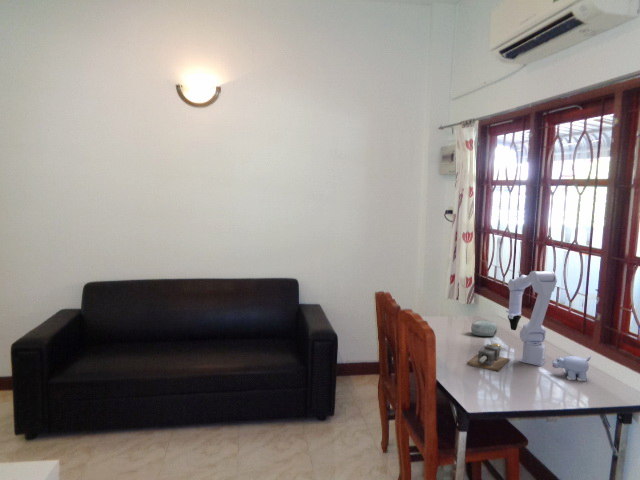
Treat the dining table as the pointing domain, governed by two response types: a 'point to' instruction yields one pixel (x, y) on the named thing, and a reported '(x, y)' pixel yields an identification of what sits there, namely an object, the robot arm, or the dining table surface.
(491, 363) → the bearing frame
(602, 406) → the dining table surface
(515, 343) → the dining table surface
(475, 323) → the pale green pouf
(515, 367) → the dining table surface
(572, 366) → the hippopotamus toy
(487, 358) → the shaft
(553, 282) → the robot arm
